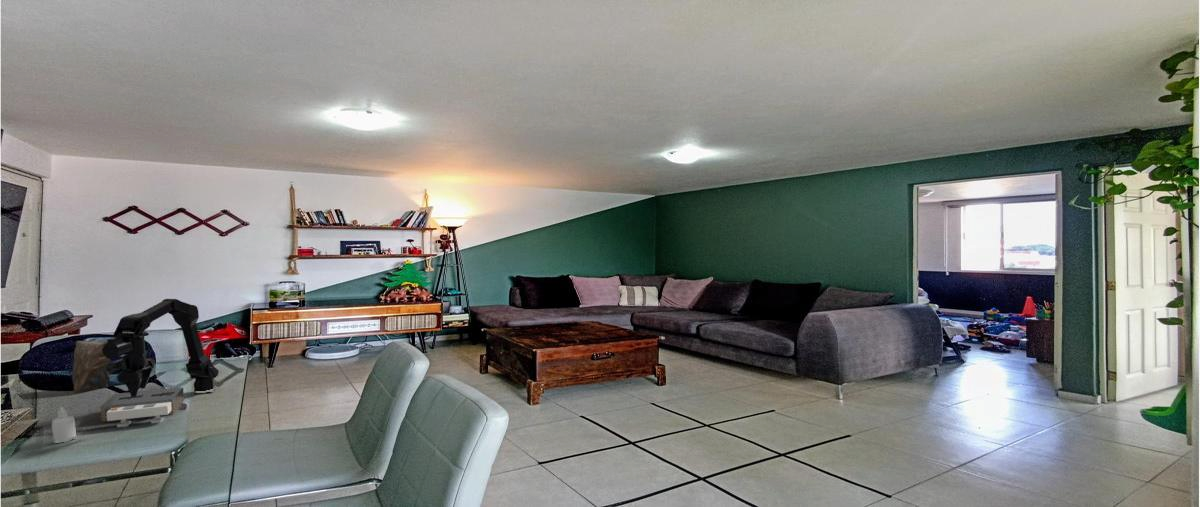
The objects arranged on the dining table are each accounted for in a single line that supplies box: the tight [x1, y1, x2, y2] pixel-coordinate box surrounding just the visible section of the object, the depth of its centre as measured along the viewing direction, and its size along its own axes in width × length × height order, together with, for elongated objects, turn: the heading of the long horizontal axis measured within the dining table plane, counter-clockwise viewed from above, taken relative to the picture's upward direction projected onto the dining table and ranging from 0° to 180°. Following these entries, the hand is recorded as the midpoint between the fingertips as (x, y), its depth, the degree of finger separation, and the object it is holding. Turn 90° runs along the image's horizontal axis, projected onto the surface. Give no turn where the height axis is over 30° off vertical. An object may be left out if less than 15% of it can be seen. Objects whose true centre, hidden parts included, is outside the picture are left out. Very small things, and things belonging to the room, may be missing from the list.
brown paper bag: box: [71, 339, 111, 395], centre depth 249 cm, size 13×13×20 cm
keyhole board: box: [100, 386, 185, 423], centre depth 224 cm, size 22×14×6 cm, turn 112°
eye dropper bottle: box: [51, 406, 77, 440], centre depth 198 cm, size 4×6×12 cm
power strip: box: [106, 402, 172, 428], centre depth 213 cm, size 18×4×7 cm, turn 112°
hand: (138, 392), depth 212 cm, fingers open, 9 cm apart
